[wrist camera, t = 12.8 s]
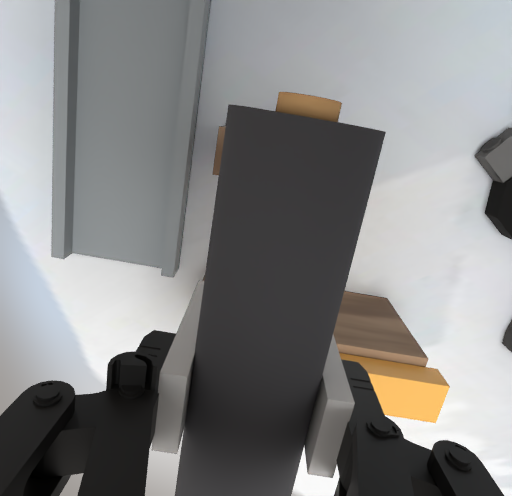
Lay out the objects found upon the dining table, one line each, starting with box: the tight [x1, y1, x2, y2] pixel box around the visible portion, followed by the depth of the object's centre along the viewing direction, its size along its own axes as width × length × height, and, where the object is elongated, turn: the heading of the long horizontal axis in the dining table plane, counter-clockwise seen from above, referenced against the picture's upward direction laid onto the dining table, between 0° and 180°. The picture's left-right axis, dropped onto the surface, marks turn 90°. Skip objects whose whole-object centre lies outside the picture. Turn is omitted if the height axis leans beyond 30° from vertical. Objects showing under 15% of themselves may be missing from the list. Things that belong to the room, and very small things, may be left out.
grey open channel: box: [51, 0, 211, 277], centre depth 30 cm, size 21×10×2 cm, turn 170°
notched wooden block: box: [203, 276, 428, 367], centre depth 31 cm, size 4×16×9 cm, turn 80°
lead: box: [175, 92, 386, 496], centre depth 13 cm, size 19×4×4 cm, turn 170°
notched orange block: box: [339, 353, 450, 423], centre depth 25 cm, size 3×10×3 cm, turn 80°
